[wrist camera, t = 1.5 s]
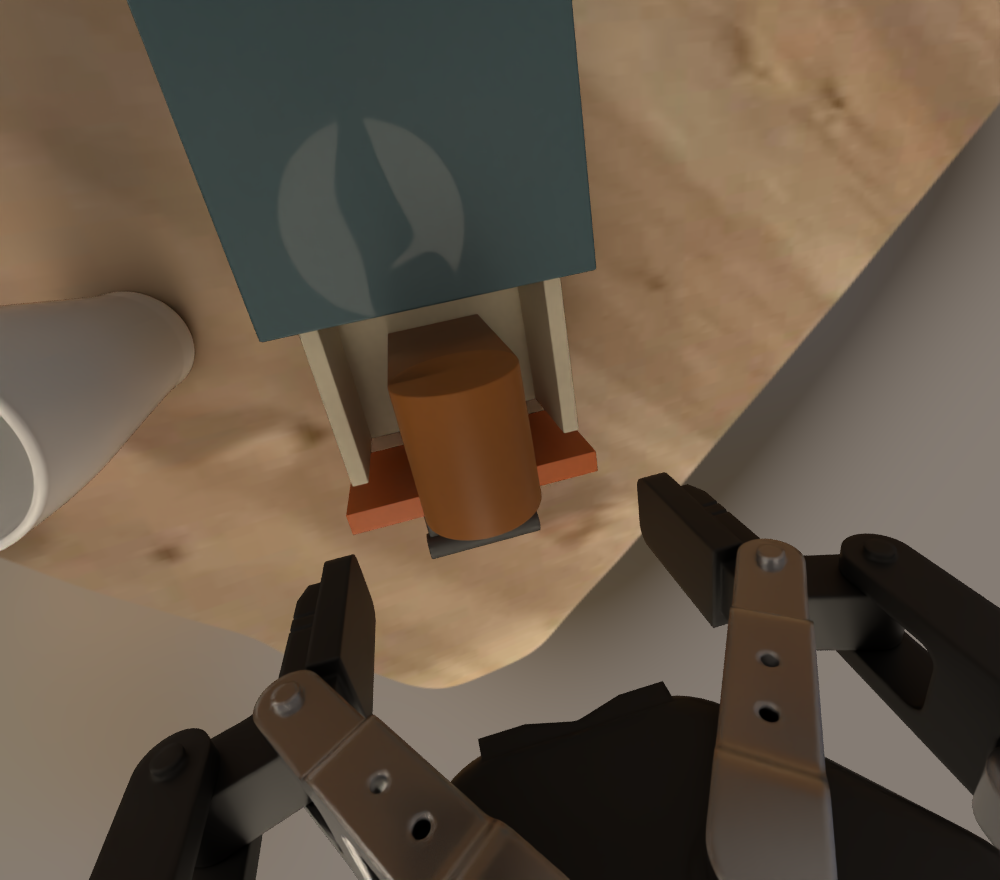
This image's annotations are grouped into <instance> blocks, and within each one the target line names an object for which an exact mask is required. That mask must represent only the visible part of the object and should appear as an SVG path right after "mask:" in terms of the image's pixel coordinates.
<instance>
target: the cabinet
mask: <svg viewBox="0 0 1000 880" xmlns="http://www.w3.org/2000/svg"><path fill="white" fill-rule="evenodd" d="M127 2H128V5H129V8H130V10H131V13H132V15H133V18H134V20H135V23H136V26H137V28H138V31H139V33H140V36H141V38H142V41H143V44H144V46H145V49H146V51H147V54H148V56H149V59H150V62H151V64H152V67H153V69H154V72H155V74H156V77H157V80H158V82H159V85H160V87H161V90H162V92H163V95H164V98H165V100H166V103H167V105H168V108H169V110H170V113H171V116H172V118H173V121H174V123H175V126H176V128H177V131H178V134H179V136H180V139H181V141H182V144H183V146H184V149H185V152H186V154H187V157H188V159H189V162H190V164H191V167H192V170H193V172H194V175H195V177H196V180H197V182H198V185H199V188H200V190H201V193H202V195H203V198H204V200H205V203H206V206H207V208H208V211H209V213H210V216H211V218H212V221H213V224H214V226H215V229H216V231H217V234H218V236H219V239H220V242H221V244H222V247H223V249H224V252H225V254H226V257H227V260H228V262H229V265H230V267H231V270H232V272H233V275H234V278H235V280H236V283H237V285H238V288H239V290H240V293H241V295H242V298H243V301H244V303H245V306H246V308H247V311H248V313H249V316H250V319H251V321H252V324H253V326H254V329H255V331H256V334H257V337H258V339H259V341H260V342H266V341H270V340H275V339H280V338H284V337H289V336H293V335H298V334H303V333H307V332H312V331H316V330H321V329H326V328H330V327H335V326H339V325H344V324H349V323H353V322H358V321H362V320H367V319H372V318H376V317H381V316H385V315H390V314H395V313H399V312H404V311H408V310H413V309H418V308H422V307H427V306H431V305H436V304H441V303H445V302H450V301H454V300H459V299H463V298H468V297H473V296H477V295H482V294H486V293H491V292H496V291H500V290H505V289H509V288H514V287H519V286H523V285H528V284H532V283H537V282H542V281H546V280H551V279H555V278H560V277H565V276H569V275H574V274H578V273H583V272H588V271H592V270H595V269H596V261H595V250H594V239H593V228H592V217H591V206H590V195H589V184H588V173H587V162H586V151H585V140H584V129H583V118H582V107H581V96H580V85H579V74H578V63H577V52H576V41H575V30H574V19H573V8H572V0H127Z"/></svg>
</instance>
